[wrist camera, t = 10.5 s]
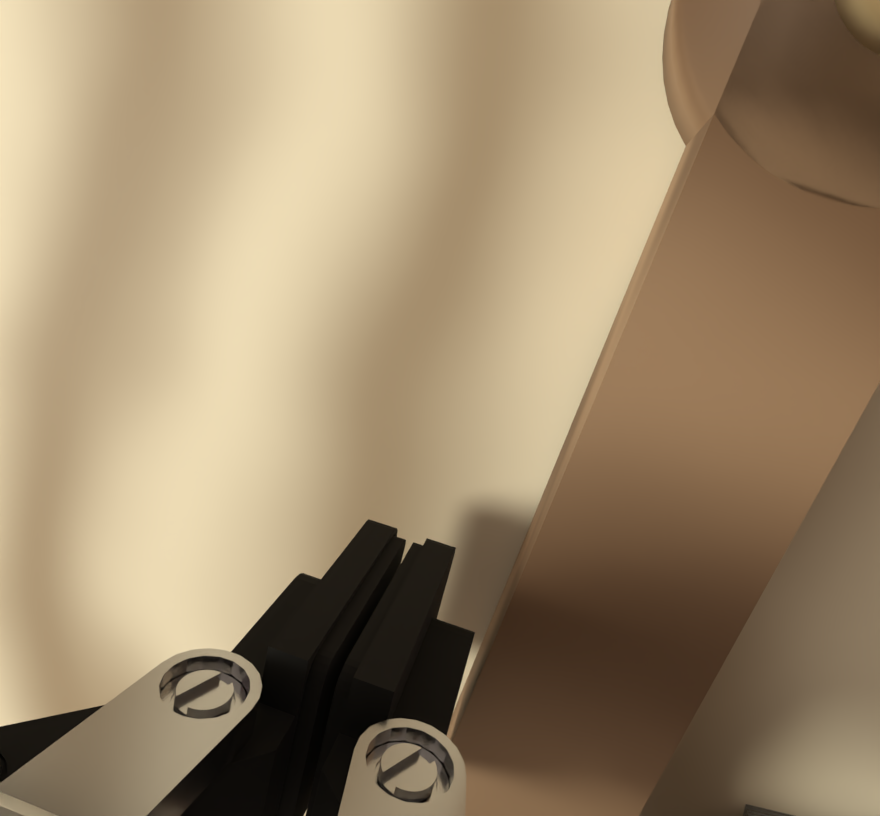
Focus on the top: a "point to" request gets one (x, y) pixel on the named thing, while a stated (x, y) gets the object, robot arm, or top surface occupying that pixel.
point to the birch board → (356, 344)
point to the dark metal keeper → (761, 811)
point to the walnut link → (694, 414)
